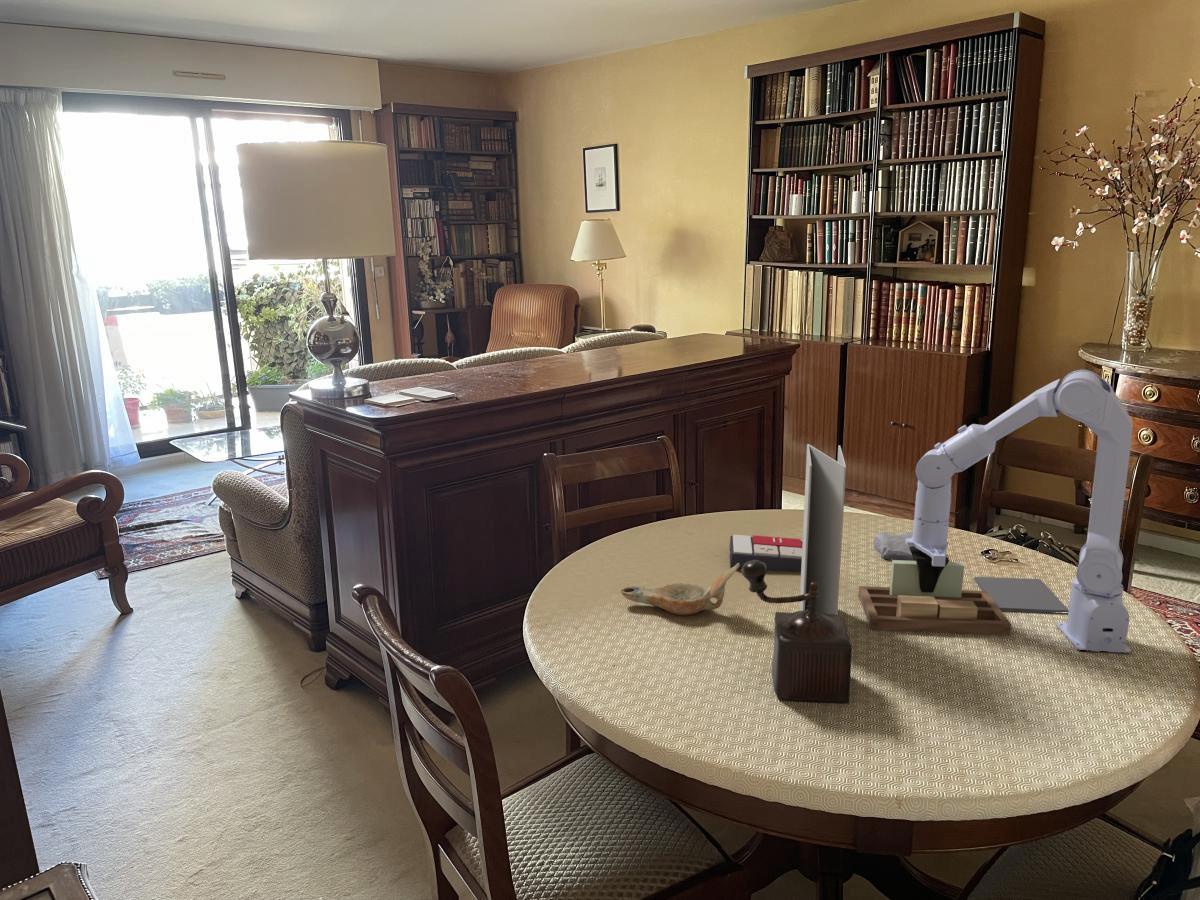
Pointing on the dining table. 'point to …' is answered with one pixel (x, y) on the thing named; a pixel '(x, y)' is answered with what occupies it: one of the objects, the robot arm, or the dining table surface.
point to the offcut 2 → (957, 609)
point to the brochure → (823, 528)
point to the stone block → (893, 546)
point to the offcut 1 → (917, 606)
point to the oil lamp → (682, 595)
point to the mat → (1020, 594)
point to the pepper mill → (806, 647)
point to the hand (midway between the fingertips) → (925, 589)
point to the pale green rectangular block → (908, 580)
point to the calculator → (767, 552)
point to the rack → (884, 609)
